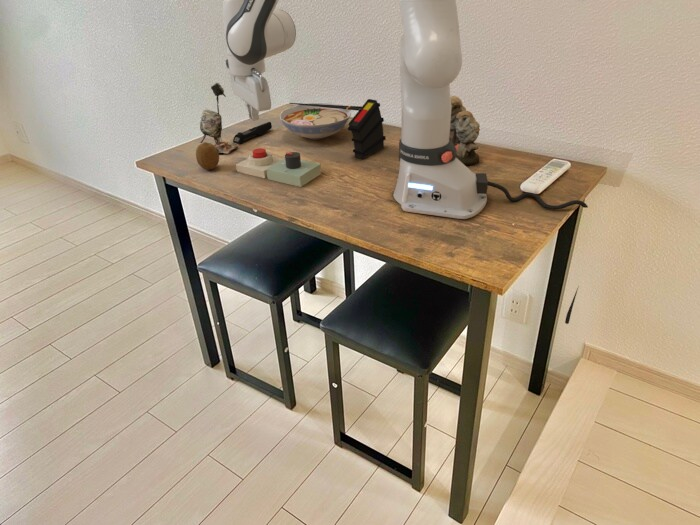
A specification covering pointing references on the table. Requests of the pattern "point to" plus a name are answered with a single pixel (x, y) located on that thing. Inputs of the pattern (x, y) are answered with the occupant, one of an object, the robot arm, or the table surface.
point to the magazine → (367, 130)
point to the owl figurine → (463, 132)
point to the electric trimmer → (251, 133)
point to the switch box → (257, 165)
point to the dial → (292, 160)
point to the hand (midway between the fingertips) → (254, 119)
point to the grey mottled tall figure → (214, 124)
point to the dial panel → (294, 173)
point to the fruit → (207, 156)
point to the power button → (259, 153)
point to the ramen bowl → (316, 119)
